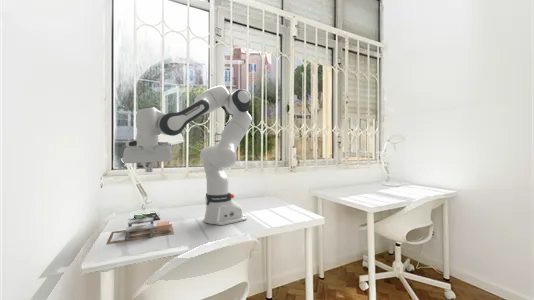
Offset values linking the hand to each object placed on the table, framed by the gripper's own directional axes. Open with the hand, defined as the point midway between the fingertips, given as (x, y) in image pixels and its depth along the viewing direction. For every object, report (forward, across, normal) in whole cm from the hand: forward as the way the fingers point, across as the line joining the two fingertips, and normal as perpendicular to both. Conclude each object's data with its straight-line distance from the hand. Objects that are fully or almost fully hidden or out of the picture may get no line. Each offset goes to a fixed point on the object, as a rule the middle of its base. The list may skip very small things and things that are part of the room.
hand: (148, 172), depth 110 cm
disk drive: (+28, +2, -14) cm, 31 cm away
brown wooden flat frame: (+27, +3, +8) cm, 28 cm away
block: (+26, -5, +9) cm, 27 cm away
